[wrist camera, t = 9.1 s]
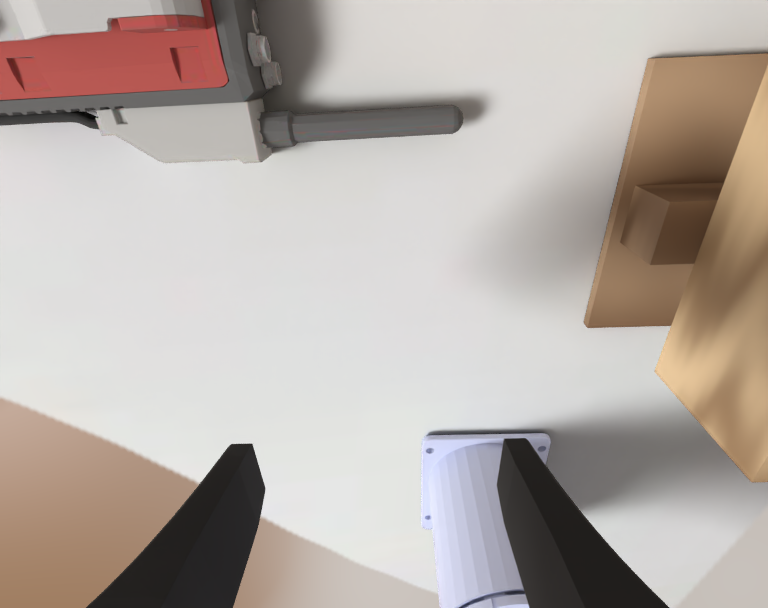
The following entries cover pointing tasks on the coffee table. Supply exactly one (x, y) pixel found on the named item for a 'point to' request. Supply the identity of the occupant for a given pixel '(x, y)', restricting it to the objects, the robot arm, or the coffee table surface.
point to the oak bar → (729, 311)
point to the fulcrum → (670, 184)
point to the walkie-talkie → (170, 79)
